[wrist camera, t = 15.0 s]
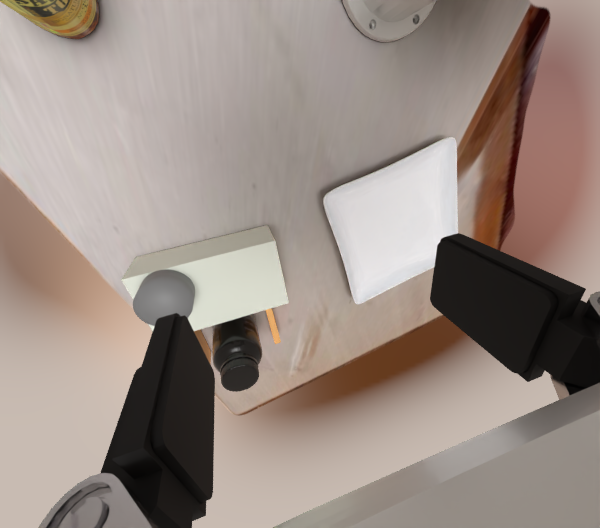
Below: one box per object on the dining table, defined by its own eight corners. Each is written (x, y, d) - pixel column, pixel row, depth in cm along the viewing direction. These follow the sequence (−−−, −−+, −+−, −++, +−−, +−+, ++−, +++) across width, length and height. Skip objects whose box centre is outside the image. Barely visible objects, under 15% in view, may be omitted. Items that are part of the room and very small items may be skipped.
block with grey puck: (267, 225, 37) (280, 250, 29) (290, 326, 47) (304, 364, 39) (135, 257, 34) (111, 294, 26) (190, 357, 44) (184, 406, 36)
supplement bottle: (232, 341, 45) (236, 404, 35) (203, 320, 42) (199, 383, 31) (263, 319, 45) (276, 375, 34) (237, 295, 41) (243, 351, 31)
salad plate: (441, 132, 38) (459, 132, 35) (446, 248, 49) (460, 256, 46) (312, 190, 37) (320, 195, 34) (347, 296, 48) (356, 307, 45)
